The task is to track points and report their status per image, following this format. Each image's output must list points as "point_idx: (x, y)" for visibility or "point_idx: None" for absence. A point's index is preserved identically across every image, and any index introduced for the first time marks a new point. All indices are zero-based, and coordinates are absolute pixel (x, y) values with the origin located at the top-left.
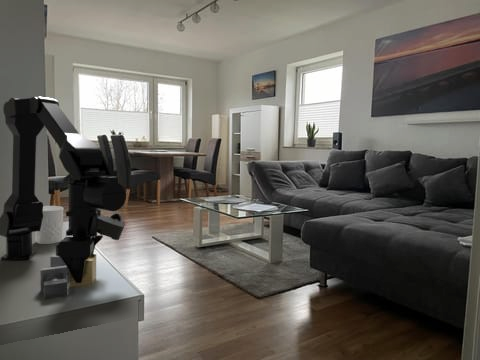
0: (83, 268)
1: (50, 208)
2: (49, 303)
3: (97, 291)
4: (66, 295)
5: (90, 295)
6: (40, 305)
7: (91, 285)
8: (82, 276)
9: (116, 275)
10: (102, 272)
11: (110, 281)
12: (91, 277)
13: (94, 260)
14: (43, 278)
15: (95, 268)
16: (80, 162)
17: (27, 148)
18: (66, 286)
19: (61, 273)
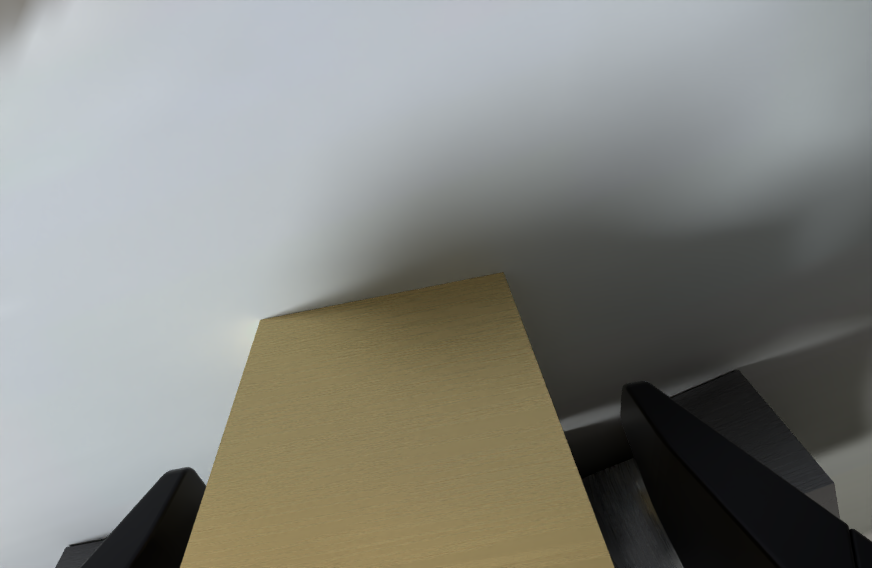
0: (863, 539)
1: None
2: (847, 412)
3: (693, 151)
4: (741, 376)
5: (793, 185)
6: (859, 441)
7: (503, 279)
8: (713, 431)
9: (69, 92)
10: (61, 318)
11: (344, 101)
12: (528, 344)
13: (365, 562)
14: None
15: (286, 415)
16: None
17: None
18: (801, 446)
19: None
